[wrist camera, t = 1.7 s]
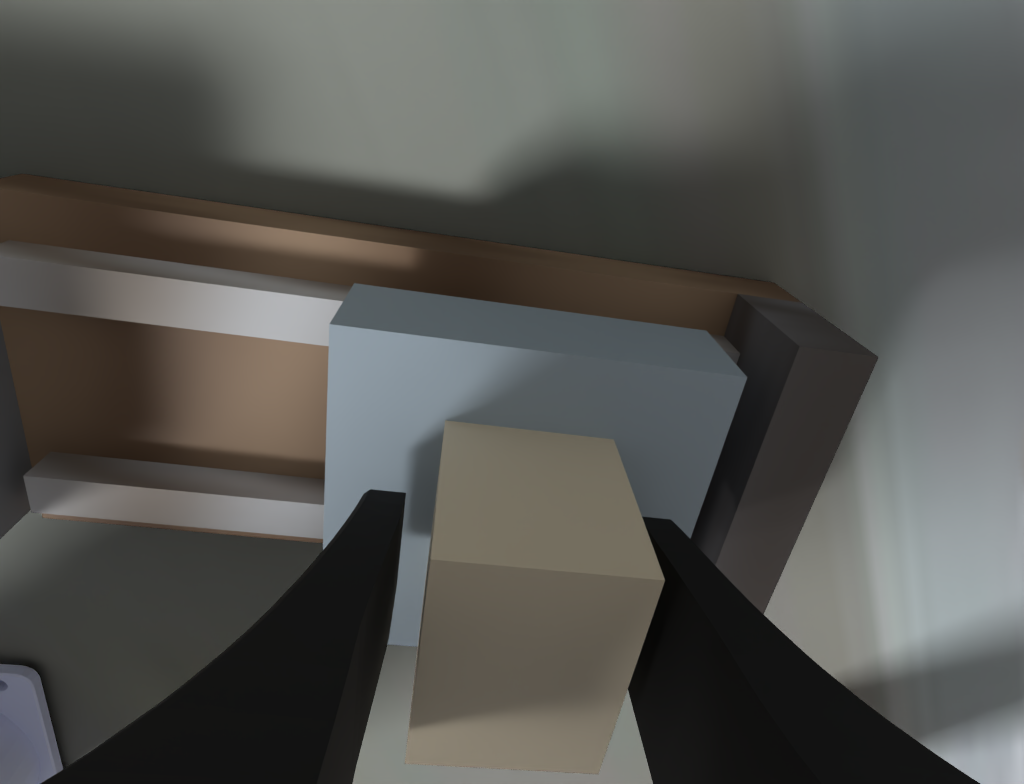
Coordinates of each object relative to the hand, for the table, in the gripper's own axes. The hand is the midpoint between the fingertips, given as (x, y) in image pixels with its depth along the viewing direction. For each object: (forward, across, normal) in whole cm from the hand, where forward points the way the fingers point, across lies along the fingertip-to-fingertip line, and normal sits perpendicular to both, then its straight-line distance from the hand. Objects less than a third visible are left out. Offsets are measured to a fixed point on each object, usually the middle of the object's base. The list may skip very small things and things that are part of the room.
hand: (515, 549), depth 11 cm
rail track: (+6, +3, 0) cm, 6 cm away
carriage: (+3, 0, 0) cm, 3 cm away
